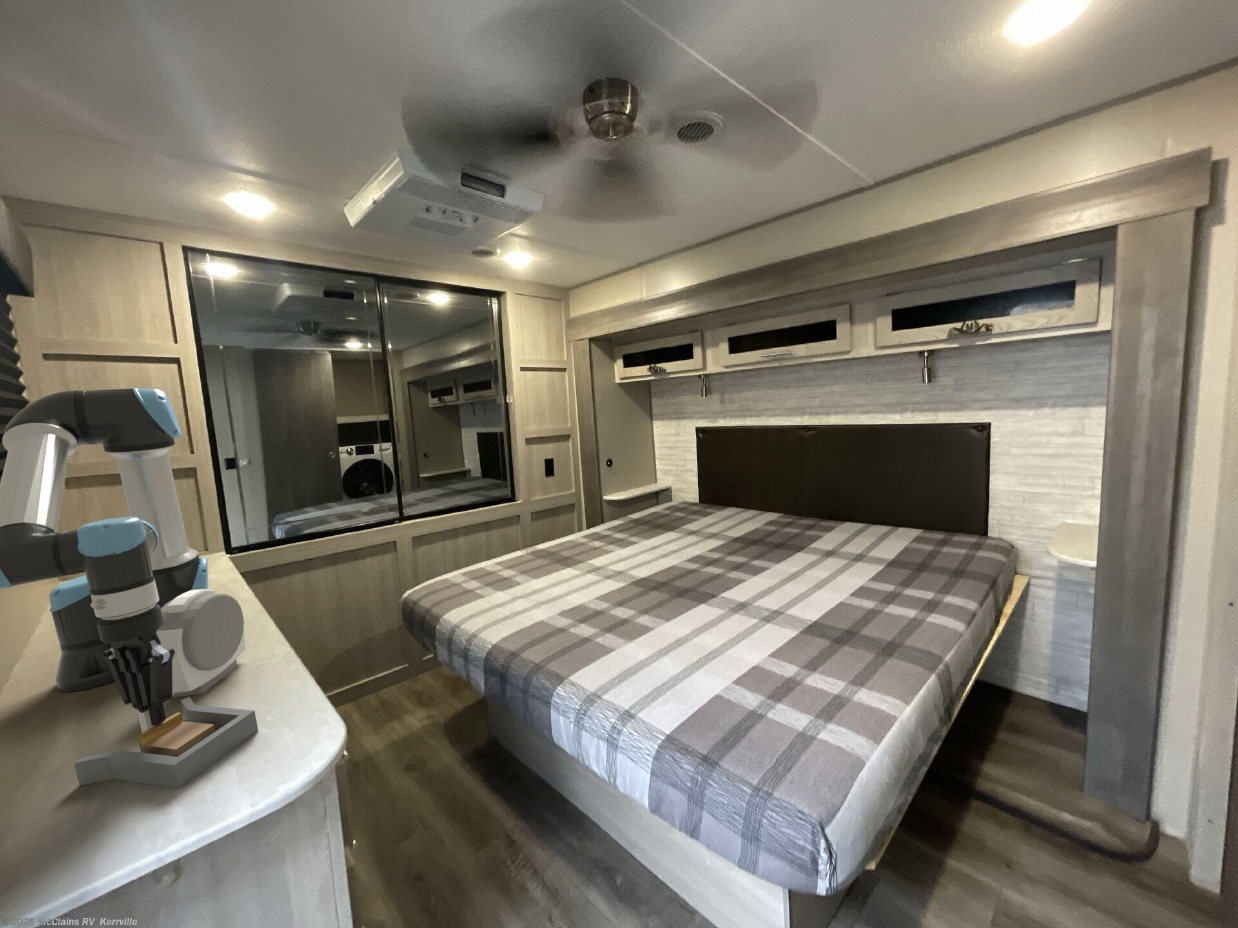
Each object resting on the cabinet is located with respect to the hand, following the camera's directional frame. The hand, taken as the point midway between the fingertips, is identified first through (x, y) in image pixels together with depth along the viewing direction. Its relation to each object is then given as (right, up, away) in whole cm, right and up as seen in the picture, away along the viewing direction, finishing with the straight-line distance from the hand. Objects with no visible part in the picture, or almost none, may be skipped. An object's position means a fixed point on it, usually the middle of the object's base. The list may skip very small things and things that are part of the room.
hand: (157, 739), depth 83 cm
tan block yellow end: (+5, -2, -1) cm, 5 cm away
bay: (+5, -2, -1) cm, 5 cm away
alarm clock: (-10, 0, +22) cm, 24 cm away
